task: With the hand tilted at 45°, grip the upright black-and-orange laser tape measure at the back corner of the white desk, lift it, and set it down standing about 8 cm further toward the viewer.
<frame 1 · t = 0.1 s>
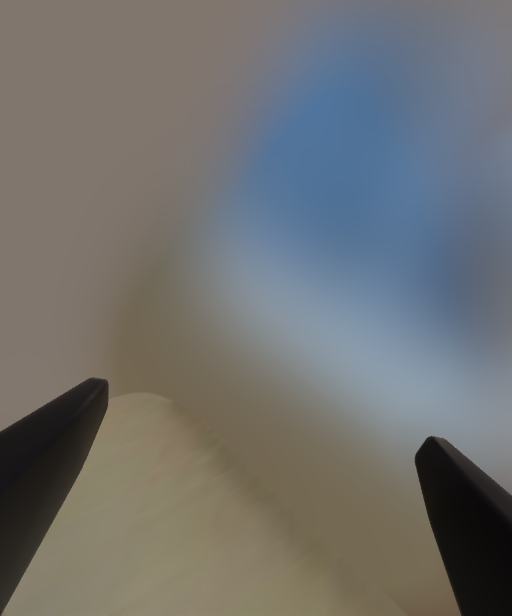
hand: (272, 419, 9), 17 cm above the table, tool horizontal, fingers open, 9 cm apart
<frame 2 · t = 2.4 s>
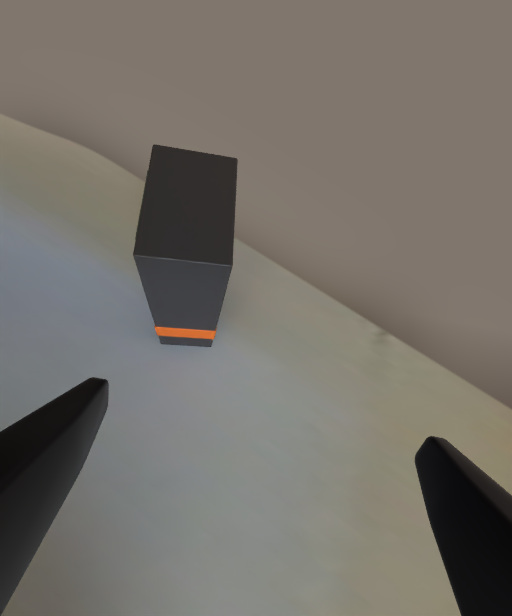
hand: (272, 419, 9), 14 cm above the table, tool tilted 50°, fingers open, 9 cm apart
laser measure: (189, 310, 24), on the table
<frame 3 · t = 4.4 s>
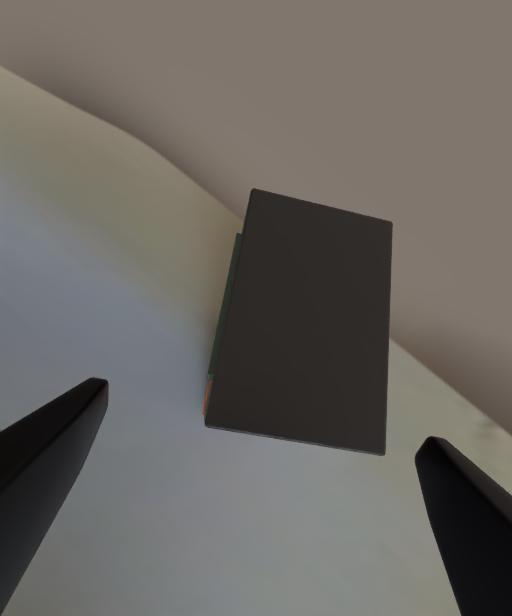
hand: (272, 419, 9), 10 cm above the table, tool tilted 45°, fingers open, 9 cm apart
laser measure: (243, 369, 19), on the table
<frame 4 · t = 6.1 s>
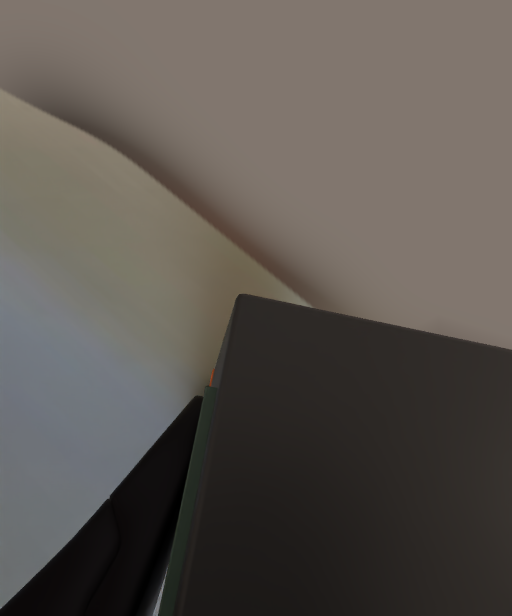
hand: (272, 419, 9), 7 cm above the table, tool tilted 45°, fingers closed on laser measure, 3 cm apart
laser measure: (238, 444, 15), on the table, touching gripper
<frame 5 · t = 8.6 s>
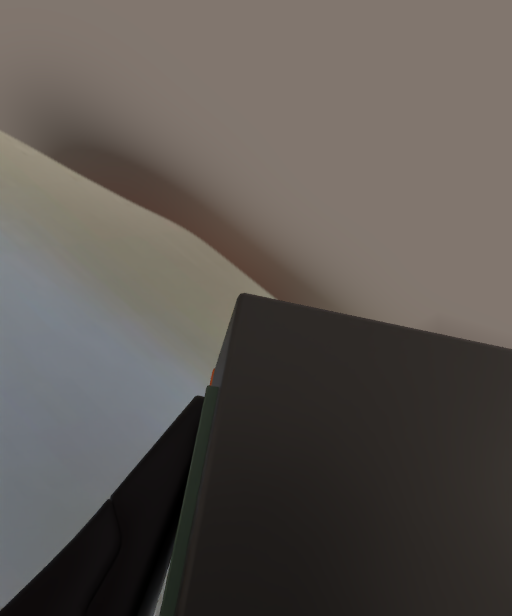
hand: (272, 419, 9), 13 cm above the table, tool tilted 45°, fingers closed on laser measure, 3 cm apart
laser measure: (238, 444, 15), point 7 cm above the table, touching gripper
when the fingers open (7 cm above the table, at t = 11.4 s): laser measure stays where it is, on the table.
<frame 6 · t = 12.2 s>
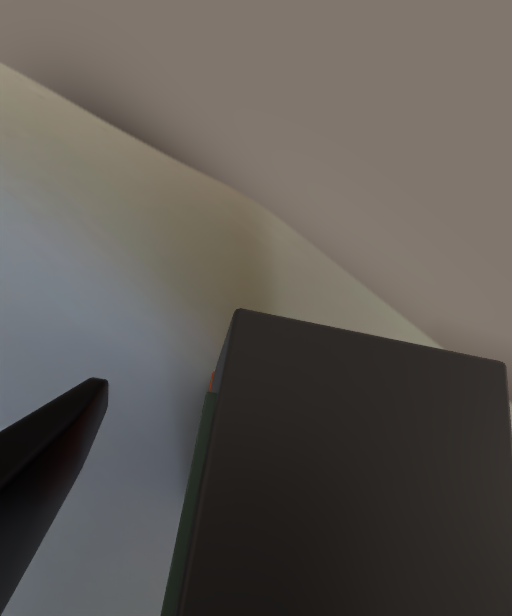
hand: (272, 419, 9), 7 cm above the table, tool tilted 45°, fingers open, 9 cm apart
laser measure: (237, 444, 15), on the table
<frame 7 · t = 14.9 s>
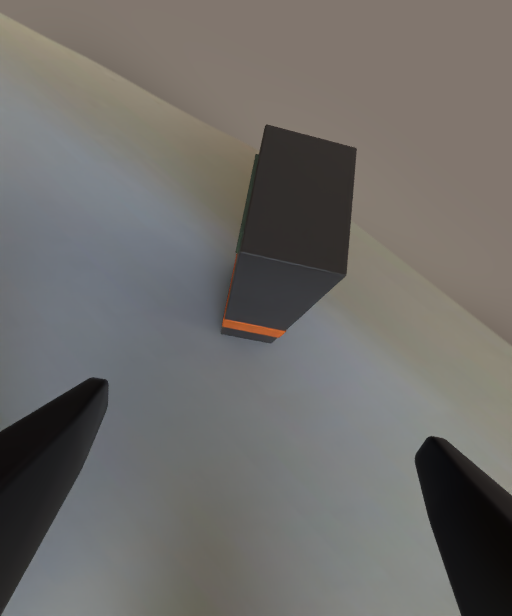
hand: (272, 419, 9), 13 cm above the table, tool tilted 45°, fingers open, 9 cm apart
laser measure: (252, 302, 23), on the table
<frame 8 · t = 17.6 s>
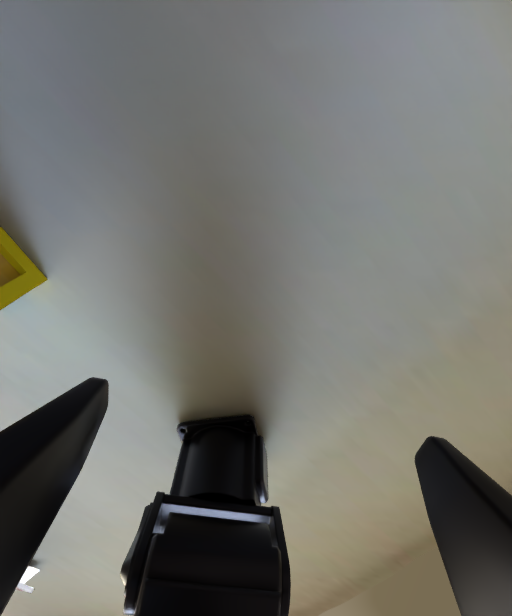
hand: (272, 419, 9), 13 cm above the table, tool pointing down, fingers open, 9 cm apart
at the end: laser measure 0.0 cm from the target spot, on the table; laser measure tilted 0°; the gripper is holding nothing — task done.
